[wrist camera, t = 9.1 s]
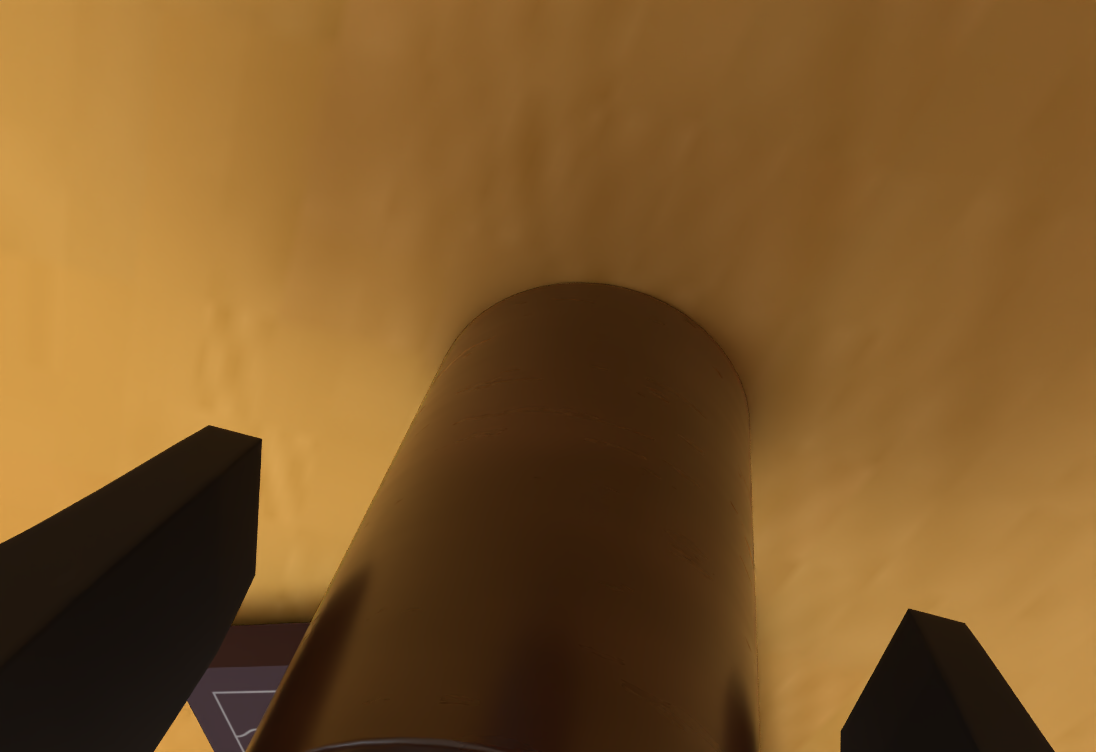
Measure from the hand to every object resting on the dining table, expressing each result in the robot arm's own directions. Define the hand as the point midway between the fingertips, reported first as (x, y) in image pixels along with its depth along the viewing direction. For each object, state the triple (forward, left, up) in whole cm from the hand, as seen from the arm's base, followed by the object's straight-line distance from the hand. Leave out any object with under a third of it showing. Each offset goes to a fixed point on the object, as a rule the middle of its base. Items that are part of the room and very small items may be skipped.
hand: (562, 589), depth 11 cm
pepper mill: (0, 0, -3) cm, 3 cm away
